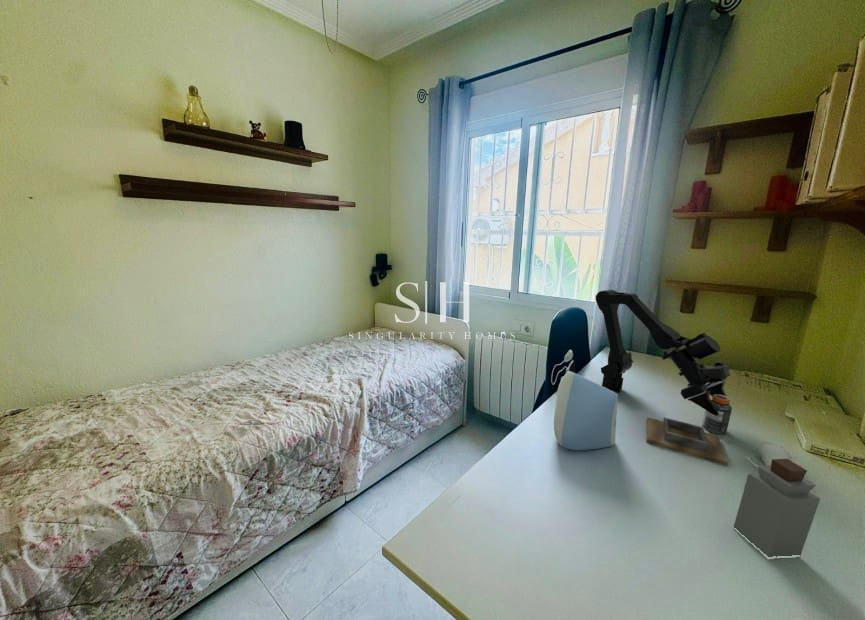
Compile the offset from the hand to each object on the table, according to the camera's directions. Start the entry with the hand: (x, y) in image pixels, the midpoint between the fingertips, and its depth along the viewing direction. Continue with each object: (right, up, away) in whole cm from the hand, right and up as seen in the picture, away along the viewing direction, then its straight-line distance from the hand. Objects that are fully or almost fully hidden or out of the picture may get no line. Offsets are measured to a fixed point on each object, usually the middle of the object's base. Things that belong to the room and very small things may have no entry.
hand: (722, 410), depth 101 cm
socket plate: (-15, -8, -4) cm, 18 cm away
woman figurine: (0, -11, -15) cm, 19 cm away
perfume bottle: (-23, -16, -36) cm, 45 cm away
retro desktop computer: (-45, -7, -2) cm, 45 cm away
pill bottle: (-1, -7, +3) cm, 7 cm away
